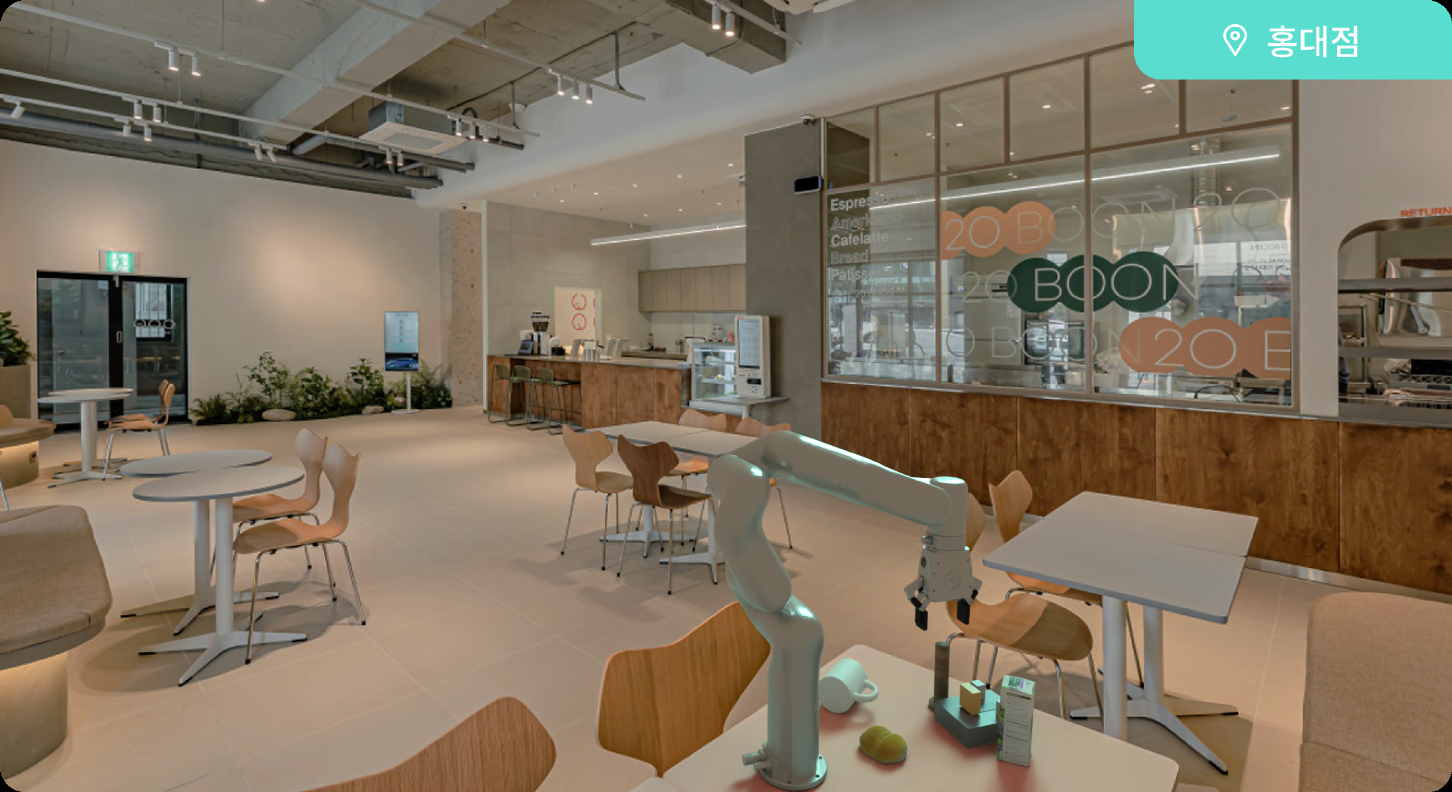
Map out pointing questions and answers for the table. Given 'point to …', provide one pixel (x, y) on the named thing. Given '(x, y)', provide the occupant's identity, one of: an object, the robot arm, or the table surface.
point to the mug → (845, 686)
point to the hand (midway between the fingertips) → (942, 624)
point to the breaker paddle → (970, 698)
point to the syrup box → (1015, 720)
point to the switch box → (970, 718)
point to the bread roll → (883, 745)
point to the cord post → (940, 673)
